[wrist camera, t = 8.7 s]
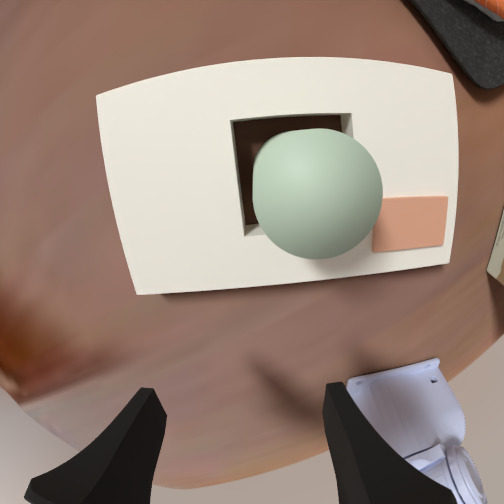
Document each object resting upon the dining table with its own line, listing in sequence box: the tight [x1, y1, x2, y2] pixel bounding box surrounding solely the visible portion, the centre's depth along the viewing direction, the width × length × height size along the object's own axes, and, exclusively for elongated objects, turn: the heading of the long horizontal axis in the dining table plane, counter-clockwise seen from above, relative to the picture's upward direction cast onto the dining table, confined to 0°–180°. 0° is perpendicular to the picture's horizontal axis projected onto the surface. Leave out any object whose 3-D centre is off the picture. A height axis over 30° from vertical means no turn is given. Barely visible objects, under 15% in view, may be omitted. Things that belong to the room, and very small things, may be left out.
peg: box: [253, 128, 383, 259], centre depth 12 cm, size 4×4×7 cm
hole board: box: [96, 57, 458, 295], centre depth 14 cm, size 20×12×2 cm, turn 96°
